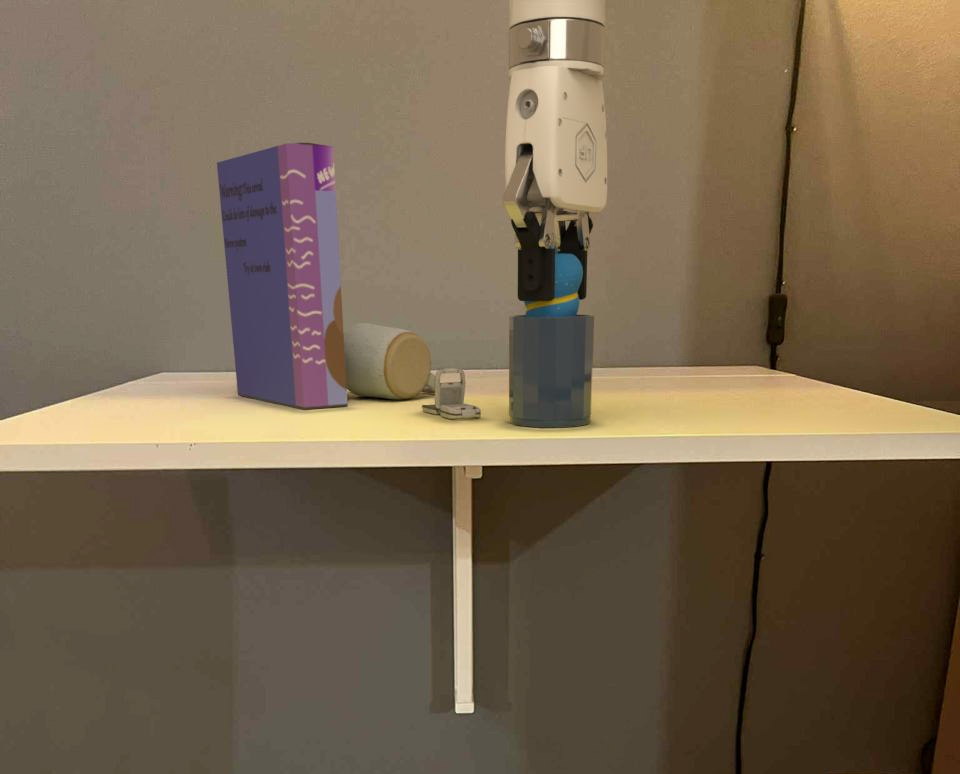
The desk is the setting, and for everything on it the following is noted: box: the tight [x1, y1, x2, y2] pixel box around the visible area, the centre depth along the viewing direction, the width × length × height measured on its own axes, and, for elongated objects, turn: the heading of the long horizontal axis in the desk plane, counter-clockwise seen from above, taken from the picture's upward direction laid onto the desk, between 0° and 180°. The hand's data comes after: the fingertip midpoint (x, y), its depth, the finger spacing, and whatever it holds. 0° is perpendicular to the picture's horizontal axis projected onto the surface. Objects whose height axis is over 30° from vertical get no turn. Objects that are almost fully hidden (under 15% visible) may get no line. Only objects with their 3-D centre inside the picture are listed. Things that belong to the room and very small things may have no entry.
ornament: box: [523, 231, 583, 317], centre depth 85 cm, size 5×5×15 cm
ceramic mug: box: [343, 322, 436, 401], centre depth 107 cm, size 11×8×8 cm
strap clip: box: [421, 367, 482, 420], centre depth 92 cm, size 8×3×4 cm, turn 25°
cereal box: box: [216, 142, 348, 411], centre depth 101 cm, size 17×5×24 cm, turn 35°
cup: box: [508, 314, 595, 429], centre depth 86 cm, size 7×7×9 cm
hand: (552, 297), depth 84 cm, fingers closed on ornament, 5 cm apart
